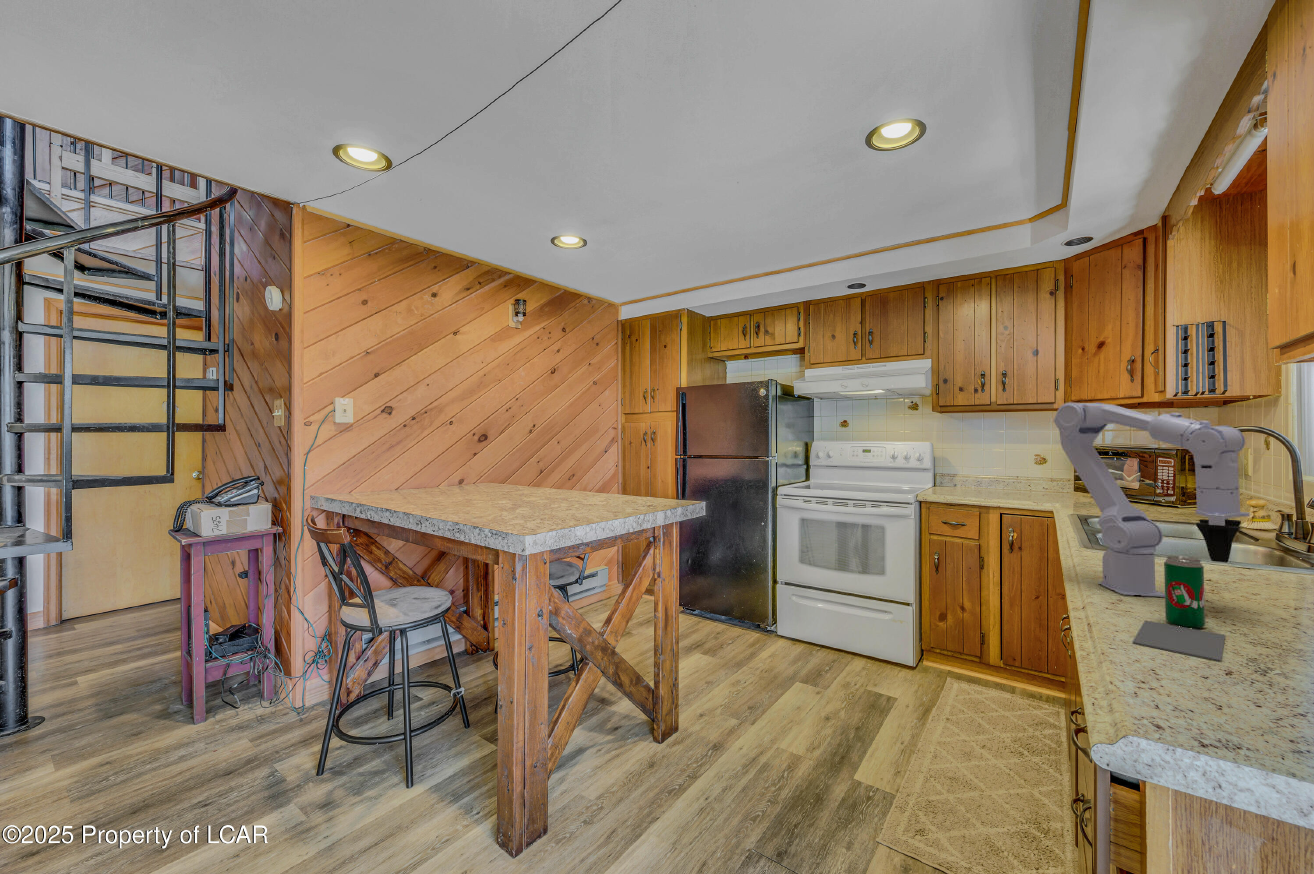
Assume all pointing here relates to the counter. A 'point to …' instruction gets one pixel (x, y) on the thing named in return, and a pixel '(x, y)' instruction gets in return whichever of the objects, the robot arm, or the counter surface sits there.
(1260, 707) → the counter surface
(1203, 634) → the mat
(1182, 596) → the soda can
